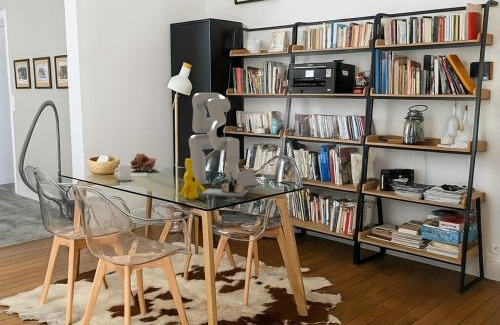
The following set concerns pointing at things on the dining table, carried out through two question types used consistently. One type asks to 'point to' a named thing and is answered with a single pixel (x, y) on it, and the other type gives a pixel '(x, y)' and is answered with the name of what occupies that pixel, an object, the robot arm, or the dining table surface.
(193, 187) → the figure statuette
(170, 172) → the dining table surface
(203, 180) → the robot arm
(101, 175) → the dining table surface
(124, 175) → the mug
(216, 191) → the white flat slab
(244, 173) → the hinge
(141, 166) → the mineral specimen
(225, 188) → the oak panel
